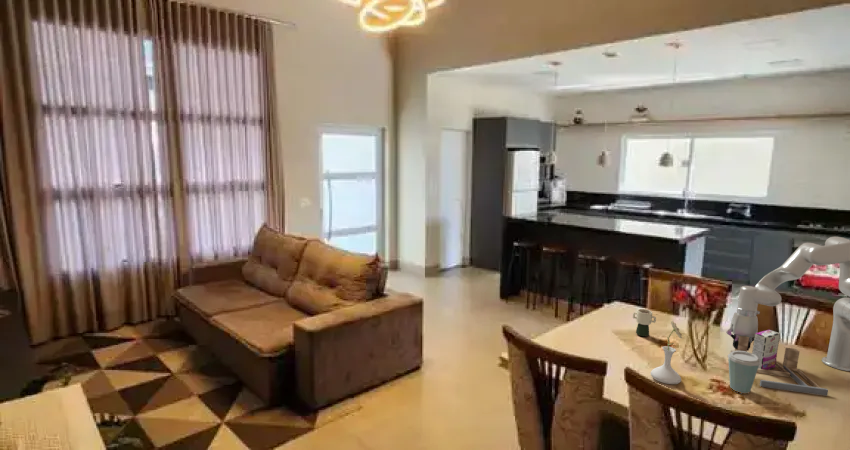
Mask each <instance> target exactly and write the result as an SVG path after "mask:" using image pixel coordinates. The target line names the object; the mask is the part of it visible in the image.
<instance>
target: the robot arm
mask: <svg viewBox="0 0 850 450" xmlns="http://www.w3.org/2000/svg"><path fill="white" fill-rule="evenodd" d="M835 264H838V265H839V276H838V278H839V279H838V289H839V291H840V292H841V293H842V294H844V295H845V296H847V297H842V298H839V299H837V300H836V301H835V303H834V304H833V312H832V313H833V315H832V317H833V319H832V320H833V321H832V327H831V333H830V338H829V344H828V350H827V353H826V354H827V355H826V356H824V357H821V362H822V363H823V364H825V365H826V366H828V367H830V368H834V369H836V370H840V371H844V372H845V371H846V372H850V239H848V238H845V237H841V236H830V237H829V238H826V240H825V242H824V245H820V244H817V243H813V242H804V243H802V244H801V245H799V246H798V248H796V249H795V251H794V252H793V253H791V255H790V256H789V257H788V258H787V259H786V260H785V261H784V262H783V263H782V265H780V266H779V267H778V268H776V269H774V270H772V271H770V272H768V273H767V274H765V275H764V276H763V277H762V278H761V279H760V280H759V281H758V282H757V283H756V285H755V286H751V285H743V286H741V287H740V288H739V295H738V301H737V307H736V308H737V309H736V312H734V314H733V315H732V319H731V322H730V326H729V328H728V330H726V334H727V335H729V336H730V337H731V338H732V347H733V348H734V350H735V349H738V343H739V342H738V338H739V335H741V336H749V341H748V348H747V352H749V351H750V348H751V345H752V343H753V342H754V336H755V333H758V328H759V321H758V316H757V315H760V313H761V312H760V310H758V305H759V304H760V305H762V306H763V305H764V306H768V307H776V306H778V305H780V304H781V303H782V295H781V294H780V293H779V292H778V291H776V288H778V287H779V286H780V285H782V284H783V283H785V282H788V281H789V282H790V281H794V280H798V279H801V278H802V277H803V276H804V275H805V274H806V273H807V272H808V271H809V270H810V269H811V267H812V266H813V265H815V266H828V265H835Z"/></svg>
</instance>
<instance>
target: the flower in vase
mask: <svg viewBox="0 0 850 450" xmlns="http://www.w3.org/2000/svg"><path fill="white" fill-rule="evenodd" d="M670 324H671V327H672V331H671V332H670V334H669V335H668V336H666V338H667V346H666V345H665V346H662V347H661V348H662V350H663V352H664V362H663V364H662V365H660V366H657V367H655V368H653V369H651V371H650V376H651V378H653V380H654V379H655V380H656V381H658V382H660V383H663V384H667V385H677V384H679V383H681V382H682V377H681V376H680V374H679V373H678V372H677V371H676V370H675V369H674V368H673V366H672V365H671V361H672V357H673V355H674V353H675V352H676V351H677V349H676V348H675V347H671V346H670V345H674V344H675V343H674V342H672V343H671V342H670V337H671V335H673V332H674V333H675V334H676V335H677V337H678V338H679V339H683V335H682V333H681V331H680V328H679V327H678V326H677V324H676V322H674V320H670Z"/></svg>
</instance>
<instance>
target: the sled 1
mask: <svg viewBox="0 0 850 450" xmlns="http://www.w3.org/2000/svg"><path fill="white" fill-rule="evenodd" d="M748 341H749V336H741V335H739V338H738V342H739V343H738V349H735V348H734V351H746V352H748V351H747V348H748ZM732 351H733V350H730V353H731V352H732ZM775 367H777V369H779V371H778V370H773V369H769V370H766V369H758V370H757V373H756V374H763V375H764V374H765V375H773V376H780V377H781V376H782V377H788V378H791V377H790V373H789V372H787V371H786V370H785V369H784V368H783V365H781V364H779V363H778V362H777V361H776V364H775Z"/></svg>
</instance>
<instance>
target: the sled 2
mask: <svg viewBox="0 0 850 450" xmlns="http://www.w3.org/2000/svg"><path fill="white" fill-rule="evenodd" d="M799 357H800V350H798V349H797V348H792V347H785V350H784V356H783V363H782V367H783V366H786V367H787V368H788V369H789V370H791V371H792V372H793V373H794V374H795V375H796V376H797V377H798V378H800V377H799V376H798V375H797V374H799V375H800V376H801V377H802V378H804V379H805V380H806V381H807V382H808V383H809V384H810V385H812V386H810V387H818V388H822V387H821V386H819V384H817V383H816V382H815V381H814V380H812V378H811V377H810V376H808V375H807V374H806V373H805V372H803V371H802V370H801V369H798V364H799ZM796 373H797V374H796ZM802 381H803V382H804V383H805V384H806V385H807V386H809V385H808V384H807V383H806V382H805V381H804V380H802Z"/></svg>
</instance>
